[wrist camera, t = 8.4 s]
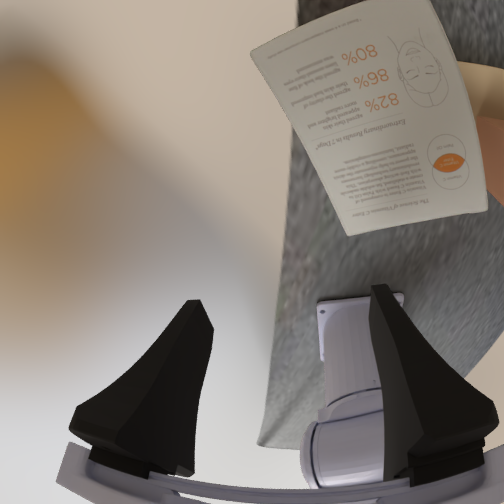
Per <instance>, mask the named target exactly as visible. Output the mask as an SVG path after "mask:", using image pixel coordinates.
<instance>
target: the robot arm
mask: <svg viewBox="0 0 504 504" xmlns="http://www.w3.org/2000/svg"><path fill="white" fill-rule="evenodd" d="M398 301H399V302H398ZM403 302H404V296H403V294H402V293H394V294H393V293H392V292H391V290H390V288H389V287H388V285H387V284H380V285H371V296H369V297H360V298H351V299H342V300H331V301H321V302H319V303H317V318H318V330H319V344H320V358H321V361H324V373H325V408H323V409H319V410H318V421H314V422H312V423H311V424H310V425H309V426H308V428H307V430H306V432H305V433H304V435H303V438H302V441H301V446H300V464H301V469H302V473H303V476H304V478H305V480H306V481H307V483H308V484H309V486H310V489H263V488H249V487H237V486H227V485H220V484H212V483H205V482H200V481H194V480H188V479H182V478H178V477H173V476H169V475H168V474H170V475H174V476H175V475H178V476H183V477H190V476H192V475H193V474H194V473H195V470H194V467H195V461H194V459H195V458H194V457H195V434H196V423H197V414H198V406H199V399H200V394H201V389H202V386H203V381H204V377H205V374H206V370H207V366H208V362H209V358H210V354H211V350H212V342H213V333H214V328H213V326H212V324H211V322H210V320H209V318H208V315H207V313H206V311H205V309H204V307H203V305H202V303H201V301H200V300H187V301H186V303H185V304H184V305H183V306H182V308H181V309H180V310H179V312H178V313H177V314H176V316H175V317H174V318H173V319H172V321H171V322H170V323H169V325H168V326H167V327H166V328H165V330H164V331H163V332H162V334H161V335H160V336H159V337H158V339H157V340H156V341H155V342H154V343H153V344H152V345H151V347H150V348H149V349H148V350H147V351H146V352H145V354H144V355H143V356H142V357H141V358H140V359H139V360H138V361H137V362H136V363H135V364H134V365H133V366H132V367H131V368H130V369H129V370H128V371H126V372H125V373H124V374H123V375H122V376H120V377H119V378H118V379H117V380H116V381H115V382H113V383H112V384H111V385H110V386H108V387H107V388H105V389H104V390H103V391H101V392H100V393H98V394H97V395H95V396H94V397H92V398H90V399H89V400H87V401H85V402H84V403H82V404H80V405H78V406H77V407H76V410H75V412H74V415H73V417H72V420H71V422H70V425H69V430H70V432H72V433H73V434H74V435H76V436H77V437H79V438H80V439H82V440H84V441H85V442H87V443H89V444H90V445H92V449H91V450H89V449H87V448H85V447H82V446H80V445H77V444H75V443H72V442H69V444H68V446H67V449H66V452H65V455H64V458H63V461H62V464H61V467H60V470H59V473H58V476H57V479H56V482H57V483H58V484H60V485H62V486H63V487H65V488H67V489H69V490H70V491H72V492H74V493H76V494H78V495H80V496H81V497H83V498H85V499H87V500H89V501H91V502H93V503H95V504H209V503H204V502H201V501H199V500H193V499H189V498H185V497H181V496H180V494H179V493H178V492H180V493H185V494H190V495H195V496H200V497H206V498H212V499H219V500H226V501H235V502H244V503H256V504H500V503H502V502H504V444H503V445H501V446H498V447H496V448H494V449H491V450H489V451H487V452H485V453H483V449H482V447H484V446H485V440H484V437H486V436H487V435H488V434H489V433H491V432H492V431H493V430H494V429H495V428H496V427H497V426H498V424H499V419H498V414H497V410H496V408H495V405H494V403H493V401H492V400H491V399H489V398H488V397H486V396H485V395H484V394H482V393H481V392H480V391H478V390H477V389H475V388H474V387H473V386H472V385H471V384H469V383H468V382H467V381H466V380H465V379H464V378H462V377H461V376H460V375H459V374H458V373H457V372H456V371H455V370H454V369H453V368H452V367H450V366H449V365H448V364H447V363H446V361H445V360H444V359H443V358H442V357H441V356H440V355H439V354H438V353H437V352H436V351H435V350H434V349H433V348H432V346H431V345H430V344H429V343H428V342H427V340H426V339H425V338H424V337H423V335H422V334H421V333H420V332H419V330H418V329H417V328H416V326H415V325H414V324H413V322H412V321H411V320H410V318H409V317H408V316H407V314H406V313H405V311H404V310H403V308H402V307H403ZM322 310H323V311H322Z"/></svg>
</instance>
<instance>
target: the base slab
mask: <svg viewBox="0 0 504 504" xmlns="http://www.w3.org/2000/svg"><path fill="white" fill-rule="evenodd" d="M457 63H458V66H459V69H460V72H461V75H462V77H463V81H464V84H465V87H466V90H467V93H468V97H469V100H470V104H471V108H472V112H473V116H474V120H475V124H476V120H477V116H481V117H488V118H494V119H500V120H504V69H501V68H497V67H492V66H487V65H481V64H475V63H469V62H462V61H457Z"/></svg>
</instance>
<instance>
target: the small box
mask: <svg viewBox="0 0 504 504" xmlns="http://www.w3.org/2000/svg"><path fill="white" fill-rule="evenodd" d="M250 56H251V58H252V60H253V61H254V63H255V65H256V66H257V68H258V69H259V71H260V73H261V74H262V76H263V77H264V79H265V80H266V82H267V84H268V85H269V87H270V89H271V90H272V92H273V93H274V95H275V97H276V98H277V100H278V102H279V103H280V105H281V107H282V109H283V110H284V112H285V114H286V116H287V117H288V119H289V121H290V122H291V124H292V126H293V128H294V130H295V131H296V133H297V135H298V137H299V138H300V140H301V142H302V144H303V146H304V148H305V150H306V152H307V154H308V155H309V157H310V159H311V161H312V163H313V165H314V167H315V169H316V171H317V173H318V175H319V177H320V179H321V181H322V183H323V185H324V187H325V190H326V192H327V194H328V196H329V198H330V200H331V202H332V204H333V206H334V208H335V211H336V213H337V215H338V217H339V219H340V221H341V224H342V226H343V228H344V230H345V232H346V234H347V235H348V236H352V235H357V234H362V233H365V232H368V231H373V230H378V229H383V228H389V227H394V226H399V225H404V224H409V223H415V222H420V221H426V220H431V219H436V218H442V217H448V216H453V215H458V214H465V213H478V212H484V211H487V209H488V199H487V190H486V181H485V173H484V167H483V160H482V154H481V149H480V143H479V138H478V133H477V129H476V124H475V120H474V116H473V112H472V108H471V104H470V100H469V97H468V93H467V90H466V87H465V84H464V81H463V77H462V75H461V72H460V69H459V66H458V63H457V60H456V58H455V55H454V53H453V50H452V47H451V45H450V43H449V40H448V38H447V36H446V33H445V31H444V29H443V26H442V24H441V22H440V20H439V18H438V16H437V14H436V12H435V10H434V8H433V6H432V4H431V2H430V0H366V1H363V2H360V3H357V4H354V5H351V6H348V7H346V8H343V9H340V10H338V11H335V12H332V13H330V14H327V15H325V16H323V17H320V18H318V19H315V20H313V21H311V22H308V23H306V24H304V25H302V26H299V27H297V28H295V29H293V30H291V31H289V32H287V33H284V34H282V35H280V36H278V37H276V38H274V39H272V40H271V41H269V42H267V43H265V44H263V45H261V46H259V47H258V48H256V49H254V50H252V51H251V52H250Z"/></svg>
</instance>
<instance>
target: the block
mask: <svg viewBox="0 0 504 504" xmlns="http://www.w3.org/2000/svg"><path fill="white" fill-rule="evenodd" d="M476 129H477V133H478V138H479V143H480V149H481V154H482V160H483V167H484V173H485V181H486V189H487V190H488V191H489V192H490V193H491V194H492V195H493V196H494V197H495V198H496V199H497V200H498V201H499V202H500V203H501V204H502V205H503V206H504V120H500V119H494V118H488V117H481V116H477V120H476Z"/></svg>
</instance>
